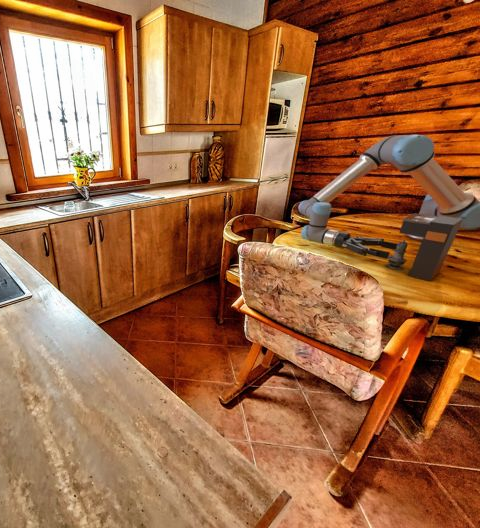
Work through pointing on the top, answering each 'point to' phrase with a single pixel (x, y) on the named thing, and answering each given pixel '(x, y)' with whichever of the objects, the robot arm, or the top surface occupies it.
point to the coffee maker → (430, 242)
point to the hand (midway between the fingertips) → (395, 251)
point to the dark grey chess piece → (398, 256)
